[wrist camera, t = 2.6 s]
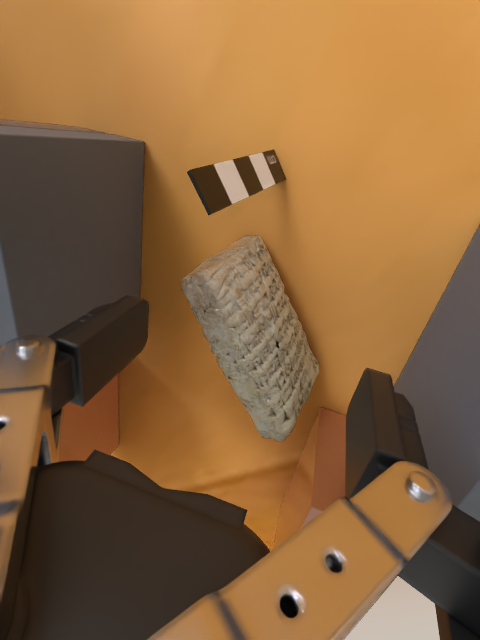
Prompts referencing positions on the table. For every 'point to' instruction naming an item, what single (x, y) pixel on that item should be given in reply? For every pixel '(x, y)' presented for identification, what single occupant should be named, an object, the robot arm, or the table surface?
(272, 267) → the cuneiform tablet
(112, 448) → the clay tablets
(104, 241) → the blue-gray block pair
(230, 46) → the table surface
